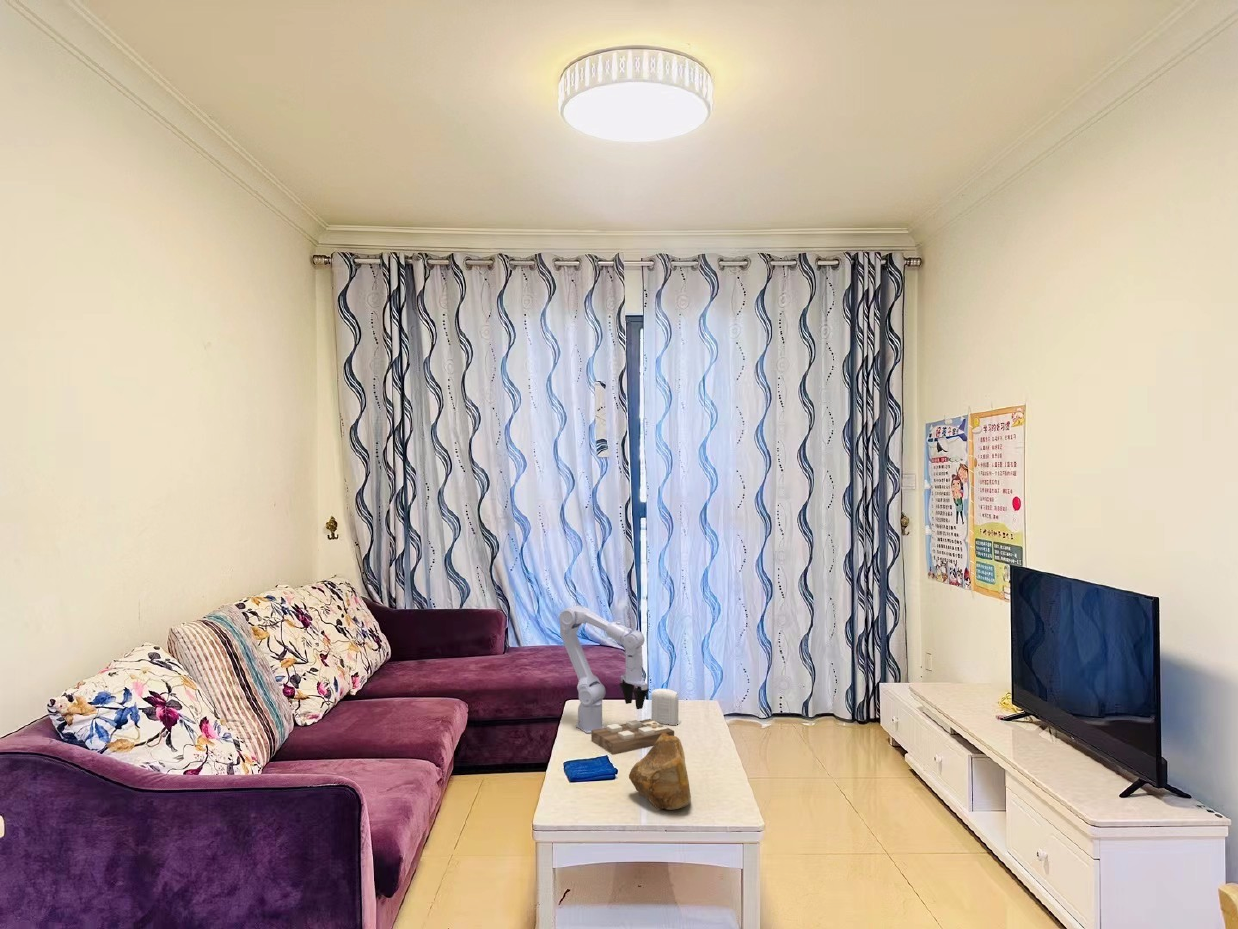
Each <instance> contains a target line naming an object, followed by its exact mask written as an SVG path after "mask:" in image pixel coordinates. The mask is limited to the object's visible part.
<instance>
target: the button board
mask: <svg viewBox="0 0 1238 929" xmlns="http://www.w3.org/2000/svg"><path fill="white" fill-rule="evenodd" d="M638 721H639V722H641V723H642V727H647V726H649V727H650V728H652V729H654V730H655V734H650V735H645V736H644V735H642V734H640V733H638V728H634V729H631V728H629V727H627V726H626V723H623V724H618V725H619V726H621V727H622V731H619V732H623V731H630V732H632V733H634V738H631V739H626V740H623V739H621V738H619V737H618V732H614V733H611V732H609V731H607V730H606V727H605V728H602V729H596V730H591V733H590V734H591V736H590V738H591V740H590V741H591V742H592V743H594V742H595V743H594V744H595V745H598V746H599V747H600V748H602V749H604V750H605V751H607V752H608V753H610V754H611V755H618V754H622V753H626V752H631V751H636V750H639V749H640V750H641V749H645V748H650V747H653V746H654V744H655V742H656V741H657V739H658V738H659V736H660V735H661V734H663V733H666V734H667V735H669V736H675V730H673V729H672V728H669V727H668V726H665V724H661V723H658V722H656V721H654V720H652V718H648V719H644V720H638ZM642 727H639V728H642Z"/></svg>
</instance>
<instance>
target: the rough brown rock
mask: <svg viewBox="0 0 1238 929" xmlns="http://www.w3.org/2000/svg"><path fill="white" fill-rule="evenodd" d="M686 766H687V765H686V757H685V751H684V748H683V745H682V742H681V739H680V738H679V737H677V736H675V735H674V736H669V735H667V734H666V733H663V734H661V735H660V736H659V738H658V739H657V741H656V742H655V744H654V746H651V748H650V749H649V751H648V752H647V754H646V755H645V756H644V757H643V758H641V759H640V760H639V761H638V762H636V763H635V764H634V765H633V766H632V768H631V769H630V772H629V774H628V778H629V780H630V782H631V783H632V785H633V787H634V788H635V790H636V791H637V793H638V794H640V795H642V796H644V797H646V799H648V800H649V802H650V803H651V804H652V805H653V806H654V807H655V808H657V809H659V810H660V811H661V810H664V809H666V810H668V811H670V810H678V809H683V808H685V807H687V806H688V805H689V804H690V803H691V800H692V795H691V794H692V793H691V788H690V782H689V781H690V780H689V776H688V771H687V767H686Z"/></svg>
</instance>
